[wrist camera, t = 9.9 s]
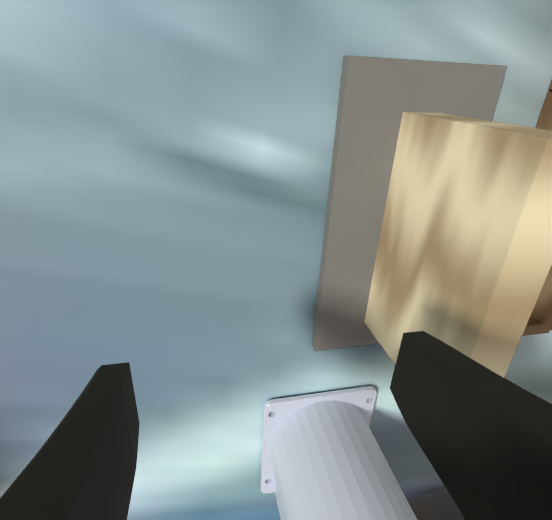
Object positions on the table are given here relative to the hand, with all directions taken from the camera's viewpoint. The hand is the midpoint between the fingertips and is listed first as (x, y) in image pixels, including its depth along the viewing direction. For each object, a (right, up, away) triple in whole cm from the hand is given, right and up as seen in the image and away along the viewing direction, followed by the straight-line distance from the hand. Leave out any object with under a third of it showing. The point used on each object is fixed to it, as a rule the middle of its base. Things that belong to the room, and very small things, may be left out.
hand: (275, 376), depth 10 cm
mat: (+7, +5, +11) cm, 14 cm away
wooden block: (+7, +5, +11) cm, 13 cm away
